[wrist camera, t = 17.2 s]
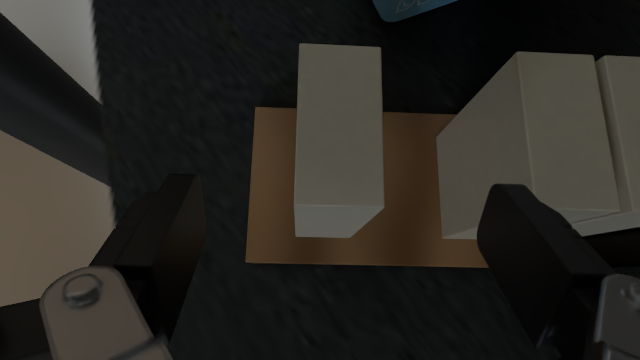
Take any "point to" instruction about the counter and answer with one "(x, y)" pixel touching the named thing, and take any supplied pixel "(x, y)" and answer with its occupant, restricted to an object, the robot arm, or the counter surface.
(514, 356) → the counter surface
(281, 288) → the counter surface
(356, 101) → the beige block
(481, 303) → the counter surface
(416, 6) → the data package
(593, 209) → the rack
